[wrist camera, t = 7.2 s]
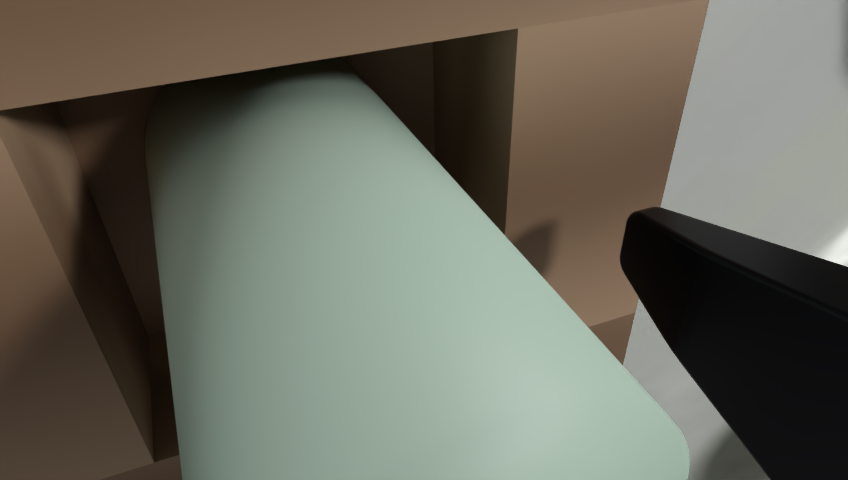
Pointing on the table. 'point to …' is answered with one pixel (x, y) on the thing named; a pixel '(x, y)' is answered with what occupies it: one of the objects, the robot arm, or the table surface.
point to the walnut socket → (277, 46)
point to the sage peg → (364, 304)
